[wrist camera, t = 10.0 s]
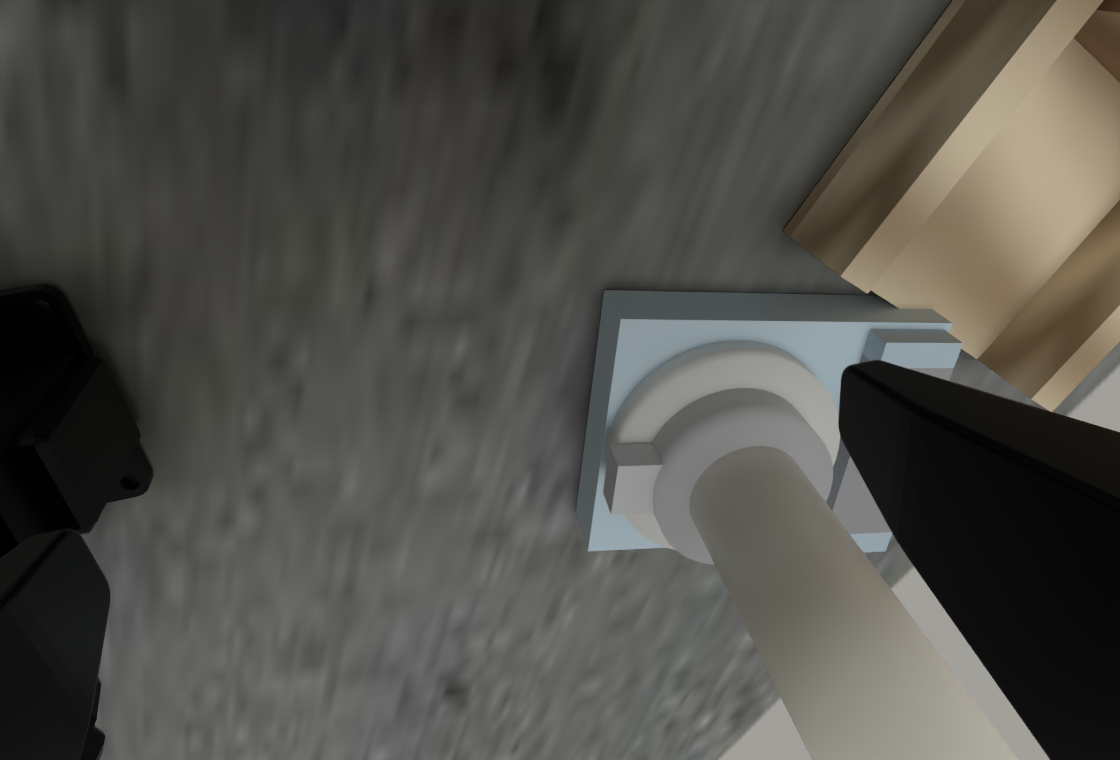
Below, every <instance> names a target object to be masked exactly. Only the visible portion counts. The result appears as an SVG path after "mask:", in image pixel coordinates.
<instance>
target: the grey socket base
mask: <svg viewBox="0 0 1120 760" xmlns="http://www.w3.org/2000/svg"><path fill="white" fill-rule="evenodd" d="M952 324H953V323H951V322H950V321H949V320H947V319H946V318H944V317H943V316H942V315H940V314H939V313H937V312H936V311H935V310H933V309H899V308H897V307H896V306H894V305H893V304H891V303H890V302H888V301H887V300H885V299H883V298H882V297H880V296H878V295H827V294H777V293H727V292H676V291H626V290H604V295H603V303H602V311H601V319H600V327H599V334H598V342H597V350H596V358H595V366H594V373H593V381H592V389H591V397H590V405H589V412H588V420H587V428H586V436H585V444H584V451H583V459H582V467H581V475H580V483H579V490H578V498H577V506H576V514H577V517H578V520H579V523H580V527H581V530H582V533H583V537H584V540H585V543H586V546H587V550H588V551H603V550H624V549H646V548H670V549H674V548H673V547H672V546H671V545H670V544H669V543H668V541H667V540H666V538H665V537H664V535H663V533H662V531H661V529H660V526H659V524H658V522H657V520H656V517H655V515H654V513H637V514H613V515H611V513H610V510H609V508H608V505H607V502H606V499H605V497H604V494H603V488H604V481H605V474H606V467H607V460H608V453H609V446H610V445H634V444H651V443H652V441H653V439H654V437H655V436H656V435H657V433H658V432H659V430H660V429H661V428H662V427H663V426H664V425H665V423H666V422H667V421H668V420H669V419H670V418H671V417H673V416H674V415H675V414H676V413H677V412H678V411H680V410H681V409H683V408H684V407H686V406H687V405H689V404H690V403H692V402H694V401H696V400H698V399H700V398H702V397H704V396H707V395H709V394H712V393H716V392H719V391H723V390H728V389H736V388H755V389H760V390H765V391H768V392H771V393H774V394H777V395H778V396H780V397H782V398H784V399H785V400H787V401H788V402H790V403H791V404H792V405H793V406H794V407H795V408H796V409H797V410H798V411H799V413H800V414H801V415H802V416H803V417H804V419H805V420H806V421H807V422H808V423H809V425H810V426H811V427H812V428H813V429H814V431H815V432H816V433H817V434H818V435H819V437H820V438H821V439H822V441H823V442H824V443H825V445H826V446H827V448H828V451H829V453H830V456H831V460H832V464H833V480H832V486H831V490H830V493H829V496H828V499H827V501H826V503H827V504H828V506H829V507H830V508H831V510H832V511H833V512H834V514H835V515H836V516H837V518H838V519H839V520H840V522H841V523H842V524H843V526H844V527H845V529H846V530H847V531H848V533H849V534H850V535H851V537H852V538H853V539H854V541H855V542H856V543H857V545H858V546H859V547H860V549H861V550H862V551H863V552H881V551H886V549H887V546H888V543H889V540H890V538H891V535H892V532H891V530H890V528H889V527H888V525H887V523H886V521H885V519H884V517H883V516H882V514H881V512H880V510H879V508H878V506H877V505H876V503H875V501H874V499H873V497H872V495H871V494H870V492H869V490H868V488H867V486H866V484H865V482H864V481H863V479H862V477H861V475H860V473H859V471H858V470H857V468H856V466H855V464H854V462H853V460H852V459H851V457H850V455H849V453H848V451H847V449H846V447H845V446H844V444H843V442H842V439H841V436H840V432H839V426H838V418H839V401H840V385H841V376H842V373H843V370H844V369H845V368H846V367H847V366H849V365H853V364H857V363H862V362H867V361H872V360H882V361H885V362H888V363H892V364H895V365H898V366H902V367H905V368H908V369H911V370H915V371H918V372H921V373H925V374H928V375H931V376H935V377H938V378H941V379H945V380H948V381H949V380H950V377H951V374H952V372H953V369H954V366H955V364H956V361H957V358H958V356H959V353H960V350H961V347H962V345H963V343H962V342H961V341H959V340H958V339H957V338H955V337H954V336H953V335H951V334H950V333H949V332H950V329H951V326H952ZM674 550H675V549H674Z"/></svg>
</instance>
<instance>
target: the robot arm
mask: <svg viewBox="0 0 1120 760" xmlns="http://www.w3.org/2000/svg"><path fill="white" fill-rule="evenodd" d="M35 299H37V300H43V301H45V302H47V303H48V304H49V305H50V306H51V309H52V311H51V312H48V311H43V310H41V309H39V307H38V306H37V305H36V302H35ZM838 426H839V432H840V436H841V439H842V442H843V444H844V446H845V447H846V449H847V451H848V453H849V455H850V457H851V459H852V460H853V462H854V464H855V466H856V468H857V470H858V471H859V473H860V475H861V477H862V479H863V481H864V482H865V484H866V486H867V488H868V490H869V492H870V494H871V495H872V497H873V499H874V501H875V503H876V505H877V506H878V508H879V510H880V512H881V514H882V516H883V517H884V519H885V521H886V523H887V525H888V527H889V528H890V530H891V532H892V533H893V535H894V537H895V539H896V540H897V542H898V543H899V545H900V546H901V548H902V549H903V551H904V552H905V554H906V555H907V557H908V558H909V560H910V561H911V562H912V564H913V565H914V567H915V568H916V569H917V571H918V572H919V574H920V575H921V577H922V578H923V580H924V581H925V582H926V584H927V585H928V587H929V588H930V590H931V591H932V592H933V594H934V595H935V596H936V598H937V599H938V601H939V602H940V604H941V605H942V607H943V608H944V609H945V611H946V612H947V614H948V615H949V616H950V618H951V619H952V621H953V622H954V624H955V625H956V626H957V628H958V629H959V631H960V632H961V634H962V635H963V636H964V638H965V639H966V641H967V642H968V644H969V645H970V646H971V648H972V649H973V651H974V652H975V654H976V655H977V656H978V658H979V659H980V661H981V662H982V663H983V665H984V666H985V668H986V669H987V671H988V672H989V673H990V675H991V676H992V678H993V679H994V681H995V682H996V683H997V685H998V686H999V688H1000V689H1001V691H1002V692H1003V693H1004V695H1005V696H1006V698H1007V699H1008V700H1009V702H1010V703H1011V705H1012V706H1013V707H1014V709H1015V710H1016V712H1017V713H1018V715H1019V716H1020V717H1021V719H1022V720H1023V722H1024V723H1025V725H1026V726H1027V727H1028V729H1029V730H1030V731H1031V733H1032V734H1033V736H1034V737H1035V739H1036V740H1037V742H1038V743H1039V744H1040V746H1041V747H1042V749H1043V750H1044V752H1045V753H1046V754H1047V756H1048V757H1049V759H1050V760H1120V432H1117V431H1113V430H1110V429H1107V428H1103V427H1100V426H1097V425H1093V424H1090V423H1087V422H1084V421H1080V420H1077V419H1074V418H1070V417H1067V416H1064V415H1060V414H1057V413H1054V412H1050V411H1047V410H1044V409H1041V408H1037V407H1034V406H1031V405H1027V404H1024V403H1021V402H1017V401H1014V400H1011V399H1007V398H1004V397H1001V396H998V395H994V394H991V393H988V392H984V391H981V390H978V389H974V388H971V387H968V386H964V385H961V384H958V383H954V382H951V381H948V380H945V379H941V378H938V377H935V376H931V375H928V374H925V373H921V372H918V371H915V370H911V369H908V368H905V367H902V366H898V365H895V364H892V363H888V362H885V361H882V360H872V361H867V362H862V363H857V364H853V365H849V366H847V367H846V368H845V369H844V370H843V373H842V376H841V385H840V401H839V418H838ZM140 436H141V434H140V431H139V429H138V427H137V425H136V423H135V421H134V419H133V417H132V415H131V413H130V411H129V409H128V407H127V405H126V402H125V400H124V398H123V396H122V394H121V392H120V390H119V388H118V386H117V384H116V382H115V380H114V378H113V376H112V374H111V372H110V370H109V368H108V366H107V364H106V362H105V361H104V360H103V359H101V358H100V357H98V356H97V355H95V354H94V353H93V351H92V349H91V347H90V345H89V343H88V340H87V338H86V336H85V334H84V332H83V330H82V328H81V326H80V324H79V322H78V320H77V318H76V316H75V314H74V312H73V310H72V308H71V306H70V304H69V302H68V300H67V298H66V297H65V296H64V294H63V293H62V292H61V291H60V290H58V289H57V288H55V287H53V286H50V285H46V284H37V285H31V286H26V287H20V288H15V289H9V290H4V291H0V760H100V757H101V755H102V753H103V746H104V740H105V735H104V733H103V732H102V731H101V730H100V729H98V728H97V727H96V726H94V725H95V722H96V719H97V712H98V705H99V697H100V689H101V682H100V680H99V678H98V673H99V667H100V661H101V655H102V649H103V643H104V637H105V631H106V625H107V618H108V612H109V606H110V589H109V585H108V582H107V580H106V577H105V576H104V574H103V572H102V571H101V569H100V567H99V565H98V564H97V562H96V560H95V558H94V557H93V555H92V553H91V552H90V550H89V548H88V546H87V545H86V543H85V541H84V540H83V538H82V537H81V534H86V533H89V532H90V531H91V530H92V529H93V527H94V525H95V524H96V522H97V520H98V518H99V516H100V514H101V512H102V510H103V508H104V507H105V505H106V503H108V502H113V501H118V500H122V499H127V498H132V497H137V496H140V495H142V494H144V493H145V492H146V491H147V490H148V488H149V486H150V484H151V482H152V478H153V474H152V470H151V468H150V466H149V464H148V462H147V460H146V458H145V456H144V454H143V452H142V450H141V448H140V446H139V444H138V440H139V439H140ZM125 476H134V477H136V478H137V479H138V480H139V481H138V482H133V481H130V480H128V479H127V478H126V477H125Z"/></svg>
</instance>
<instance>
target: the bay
mask: <svg viewBox="0 0 1120 760" xmlns="http://www.w3.org/2000/svg"><path fill="white" fill-rule="evenodd" d="M1102 2H1103V0H953V1H952V2H951V3H950V5H949V6H948V7H947V9H946V10H945V12H944V13H943V14H942V16H941V17H940V18H939V20H938V21H937V22H936V24H935V25H934V26H933V28H932V29H931V31H930V32H929V33H928V35H927V36H926V37H925V39H924V40H923V41H922V43H921V44H920V45H919V47H918V48H917V50H916V51H915V52H914V54H913V55H912V56H911V58H910V59H909V60H908V62H907V63H906V64H905V66H904V67H903V69H902V70H901V71H900V73H899V74H898V75H897V77H896V78H895V79H894V81H893V82H892V83H891V85H890V86H889V88H888V89H887V90H886V92H885V93H884V94H883V96H882V97H881V98H880V100H879V101H878V102H877V104H876V105H875V107H874V108H873V109H872V111H871V112H870V113H869V115H868V116H867V117H866V119H865V120H864V121H863V123H862V124H861V126H860V127H859V128H858V130H857V131H856V132H855V134H854V135H853V136H852V138H851V139H850V140H849V142H848V143H847V145H846V146H845V147H844V149H843V150H842V151H841V153H840V154H839V155H838V157H837V158H836V159H835V161H834V162H833V164H832V165H831V166H830V168H829V169H828V170H827V172H826V173H825V174H824V176H823V177H822V178H821V180H820V181H819V183H818V184H817V185H816V187H815V188H814V189H813V191H812V192H811V193H810V195H809V196H808V197H807V199H806V200H805V202H804V203H803V204H802V206H801V207H800V208H799V210H798V211H797V212H796V214H795V215H794V216H793V218H792V219H791V221H790V222H789V223H788V225H787V226H786V227H785V229H784V230H783V232H784V233H785V234H787V235H788V236H789V237H791V238H792V239H793V240H794V241H796V242H797V243H798V244H800V245H801V246H802V247H803V248H805V249H806V250H807V251H809V252H810V253H811V254H812V255H814V256H815V257H816V258H818V259H819V260H820V261H821V262H823V263H824V264H825V265H827V266H828V267H829V268H830V269H832V270H833V271H834V272H835V273H837V274H838V275H839V276H841V277H842V278H844V279H845V280H847V281H848V282H850V283H852V284H853V285H855V286H856V287H858V288H859V289H861V290H862V291H864V292H866V293H867V294H868V293H869V291H870V290H871V291H873V292H874V293H876V294H877V295H879V296H880V297H882V298H883V299H885V300H887V301H888V302H890V303H891V304H893V305H894V306H896V307H897V308H899V309H933V310H935V311H936V312H937V313H939V314H940V315H942V316H943V317H944V318H946V319H947V320H949V321H950V322H951V323H953V324H952V326H951V329H950V332H949V333H950V334H951V335H953V336H954V337H955V338H957V339H958V340H959V341H961V342H962V343H963V345H962V347H961V349H962V350H964V351H965V352H967V353H968V354H970V355H972V356H973V357H975V358H976V359H978V360H979V361H980V362H982V363H983V364H985V365H986V366H987V367H989V368H990V369H991V370H993V371H994V372H995V373H997V374H998V375H999V376H1001V377H1002V378H1003V379H1005V380H1006V381H1008V382H1009V383H1010V384H1012V385H1013V386H1014V387H1016V388H1017V389H1018V390H1020V391H1021V392H1022V393H1024V394H1025V395H1026V396H1028V397H1029V398H1031V399H1032V400H1034V401H1035V402H1037V403H1038V404H1040V405H1041V406H1043V407H1044V408H1046V409H1048V410H1049V411H1051V412H1052V411H1053V410H1054V409H1055V408H1056V407H1057V406H1058V405H1059V404H1060V403H1061V402H1062V401H1063V400H1064V399H1065V398H1066V397H1067V396H1068V395H1069V394H1070V393H1071V391H1072V390H1073V389H1074V388H1075V387H1076V386H1077V385H1078V384H1079V383H1080V382H1081V381H1082V380H1083V379H1084V378H1085V377H1086V376H1087V375H1088V374H1089V373H1090V372H1091V371H1092V370H1093V369H1094V367H1095V366H1096V365H1097V364H1098V363H1099V362H1100V361H1101V360H1102V359H1103V358H1104V357H1105V356H1106V355H1107V354H1108V353H1109V352H1110V351H1111V350H1112V349H1113V348H1114V347H1115V346H1116V345H1117V343H1118V342H1119V341H1120V83H1119V82H1118V81H1117V80H1116V79H1115V78H1114V77H1113V76H1112V75H1111V74H1110V73H1109V72H1108V71H1107V70H1106V69H1105V68H1104V67H1103V66H1102V65H1101V64H1100V63H1099V62H1098V61H1097V60H1096V59H1095V58H1094V57H1093V56H1092V55H1091V54H1090V53H1089V52H1088V51H1087V50H1086V49H1085V48H1084V47H1083V46H1082V45H1081V44H1079V43H1078V42H1077V41H1076V40H1075V39H1074V37H1075V35H1076V34H1077V33H1078V32H1079V30H1080V29H1081V28H1082V27H1083V25H1084V24H1085V23H1086V22H1087V20H1088V19H1089V18H1090V17H1091V15H1092V14H1093V13H1094V12H1095V10H1096V9H1097V8H1098V7H1099V5H1100V4H1101V3H1102Z"/></svg>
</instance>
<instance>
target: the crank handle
mask: <svg viewBox="0 0 1120 760" xmlns="http://www.w3.org/2000/svg"><path fill="white" fill-rule="evenodd" d="M832 480H833V464H832V460H831V456H830V453H829V451H828V448H827V446H826V445H825V443H824V442H823V441H822V439H821V438H820V437H819V435H818V434H817V433H816V432H815V431H814V429H813V428H812V427H811V426H810V425H809V423H808V422H807V421H806V420H805V419H804V417H803V416H802V415H801V414H800V413H799V411H798V410H797V409H796V408H795V407H794V406H793V405H792V404H791V403H790V402H788V401H787V400H785V399H784V398H782V397H780V396H778V395H777V394H774V393H771V392H768V391H765V390H760V389H755V388H736V389H728V390H723V391H719V392H716V393H712V394H709V395H707V396H704V397H702V398H700V399H698V400H696V401H694V402H692V403H690V404H689V405H687V406H686V407H684V408H683V409H681V410H680V411H678V412H677V413H676V414H675V415H674V416H673V417H671V418H670V419H669V420H668V421H667V422H666V423H665V425H664V426H663V427H662V428H661V429H660V430H659V432H658V433H657V435H656V436H655V437H654V439H653V441H652V443H651V444H634V445H610V446H609V453H608V460H607V467H606V474H605V481H604V488H603V494H604V497H605V499H606V502H607V505H608V508H609V510H610V513H611V515H613V514H637V513H654V515H655V517H656V520H657V522H658V524H659V526H660V529H661V531H662V533H663V535H664V537H665V538H666V540H667V541H668V543H669V544H670V545H671V546H672V547H673V548H674V549H675V550H676V551H678V552H679V553H680V554H682V555H684V556H686V557H687V558H689V559H692V560H695V561H697V562H701V563H705V564H711V565H715V566H716V568H717V570H718V572H719V574H720V576H721V578H722V580H723V582H724V584H725V586H726V588H727V590H728V592H729V594H730V596H731V598H732V600H733V602H734V604H735V606H736V608H737V610H738V612H739V614H740V616H741V618H742V620H743V622H744V624H745V626H746V628H747V630H748V632H749V634H750V636H751V638H752V640H753V642H754V644H755V646H756V648H757V650H758V652H759V654H760V656H761V658H762V660H763V662H764V664H765V666H766V668H767V670H768V672H769V674H770V676H771V678H772V680H773V682H774V684H775V686H776V688H777V690H778V692H779V694H780V696H781V698H782V700H783V702H784V704H785V706H786V708H787V710H788V712H789V714H790V716H791V718H792V720H793V722H794V724H795V726H796V728H797V730H798V732H799V734H800V736H801V738H802V740H803V742H804V744H805V746H806V748H807V750H808V752H809V754H810V756H811V758H812V760H1018V759H1017V757H1016V756H1015V754H1014V753H1013V752H1012V751H1011V749H1010V748H1009V746H1008V745H1007V744H1006V742H1005V741H1004V740H1003V739H1002V737H1001V736H1000V735H999V733H998V732H997V730H996V729H995V728H994V726H993V725H992V724H991V723H990V721H989V720H988V718H987V717H986V716H985V714H984V713H983V712H982V711H981V709H980V708H979V707H978V705H977V704H976V703H975V701H974V700H973V698H972V697H971V696H970V694H969V693H968V692H967V690H966V689H965V688H964V686H963V685H962V684H961V682H960V681H959V680H958V678H957V677H956V676H955V674H954V673H953V672H952V670H951V669H950V668H949V666H948V665H947V664H946V662H945V661H944V660H943V658H942V657H941V656H940V654H939V653H938V652H937V650H936V649H935V648H934V646H933V645H932V644H931V642H930V641H929V640H928V638H927V637H926V635H925V634H924V633H923V631H922V630H921V629H920V628H919V626H918V625H917V623H916V622H915V621H914V619H913V618H912V617H911V616H910V614H909V613H908V611H907V610H906V609H905V608H904V606H903V605H902V603H901V602H900V601H899V600H898V598H897V597H896V596H895V594H894V593H893V591H892V590H891V589H890V587H889V586H888V585H887V583H886V582H885V581H884V579H883V578H882V577H881V575H880V574H879V573H878V571H877V570H876V569H875V567H874V566H873V565H872V563H871V562H870V561H869V559H868V558H867V557H866V555H865V554H864V553H863V551H862V550H861V549H860V547H859V546H858V545H857V543H856V542H855V541H854V539H853V538H852V537H851V535H850V534H849V533H848V531H847V530H846V529H845V527H844V526H843V524H842V523H841V522H840V520H839V519H838V518H837V516H836V515H835V514H834V512H833V511H832V510H831V508H830V507H829V506H828V504H827V503H826V501H827V499H828V496H829V493H830V490H831V486H832Z"/></svg>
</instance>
